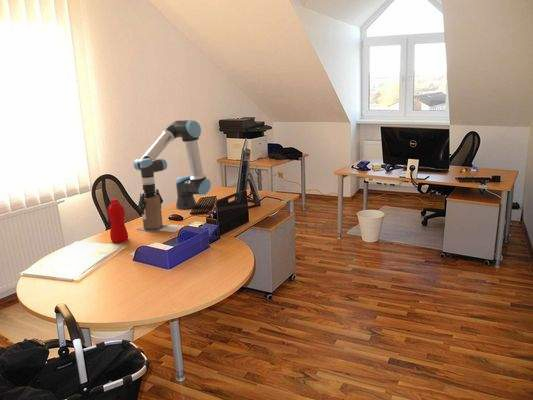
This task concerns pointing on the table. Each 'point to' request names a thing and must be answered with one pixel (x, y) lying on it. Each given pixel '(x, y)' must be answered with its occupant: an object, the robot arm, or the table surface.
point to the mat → (172, 228)
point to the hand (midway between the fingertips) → (152, 216)
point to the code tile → (153, 229)
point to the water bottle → (117, 221)
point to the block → (153, 213)
